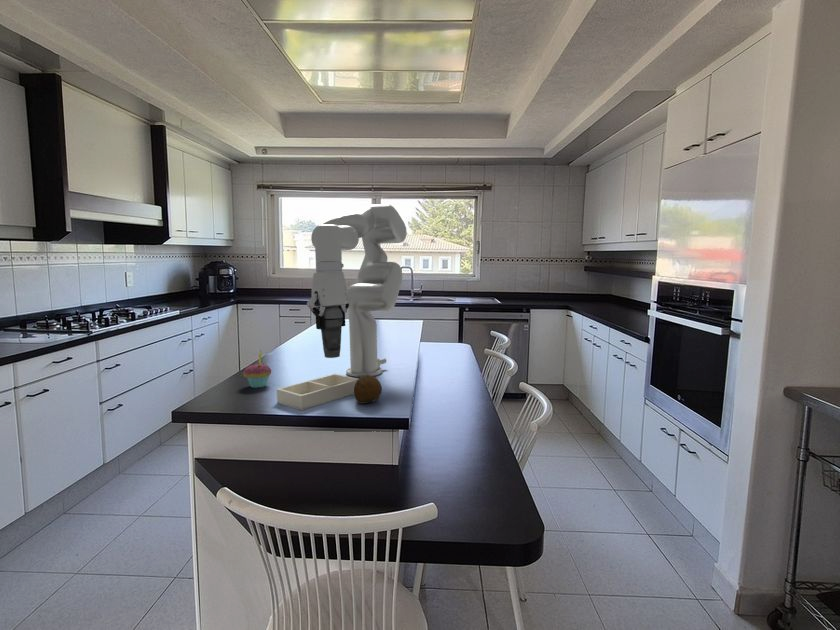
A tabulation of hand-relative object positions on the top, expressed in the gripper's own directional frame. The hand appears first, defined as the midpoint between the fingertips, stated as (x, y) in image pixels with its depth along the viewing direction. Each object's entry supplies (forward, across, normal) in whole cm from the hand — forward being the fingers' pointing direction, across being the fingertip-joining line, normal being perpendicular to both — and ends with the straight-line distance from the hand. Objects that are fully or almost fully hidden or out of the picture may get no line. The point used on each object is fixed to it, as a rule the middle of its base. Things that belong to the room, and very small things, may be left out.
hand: (331, 327), depth 141 cm
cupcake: (+20, +9, -26) cm, 34 cm away
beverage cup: (+9, 0, 0) cm, 9 cm away
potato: (+21, 0, +14) cm, 25 cm away
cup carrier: (+20, +5, 0) cm, 21 cm away
